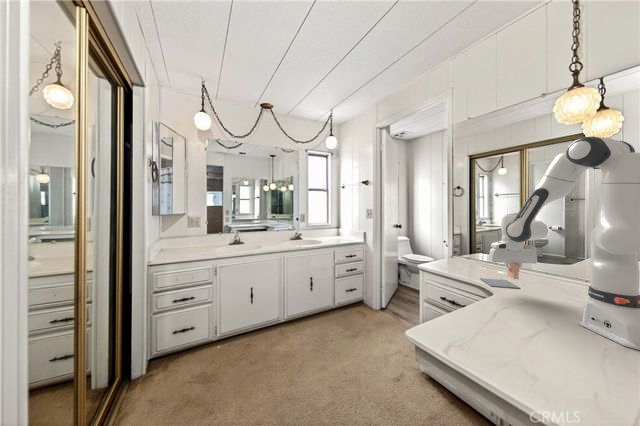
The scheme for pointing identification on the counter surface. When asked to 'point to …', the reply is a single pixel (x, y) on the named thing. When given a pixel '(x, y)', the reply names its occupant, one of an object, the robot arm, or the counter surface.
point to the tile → (513, 271)
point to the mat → (499, 283)
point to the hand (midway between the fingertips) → (512, 271)
